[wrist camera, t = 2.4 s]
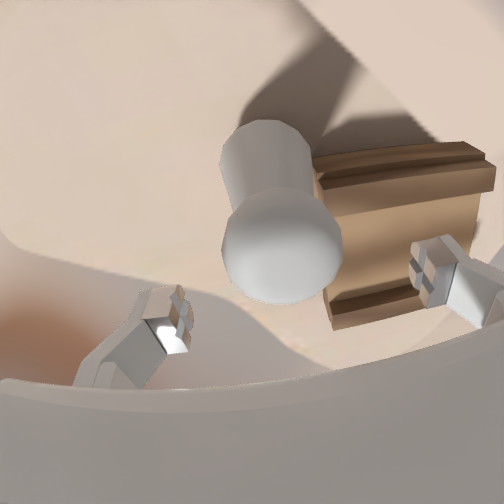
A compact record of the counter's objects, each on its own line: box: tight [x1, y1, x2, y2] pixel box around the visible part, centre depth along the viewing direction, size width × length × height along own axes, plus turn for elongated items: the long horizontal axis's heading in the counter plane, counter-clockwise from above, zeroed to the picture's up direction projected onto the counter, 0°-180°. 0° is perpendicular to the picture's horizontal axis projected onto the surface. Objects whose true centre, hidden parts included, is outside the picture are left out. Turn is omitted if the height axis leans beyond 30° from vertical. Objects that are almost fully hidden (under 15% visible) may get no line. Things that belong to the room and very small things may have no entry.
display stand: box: [311, 141, 496, 331], centre depth 22 cm, size 14×14×4 cm
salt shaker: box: [219, 120, 343, 305], centre depth 15 cm, size 6×6×13 cm
